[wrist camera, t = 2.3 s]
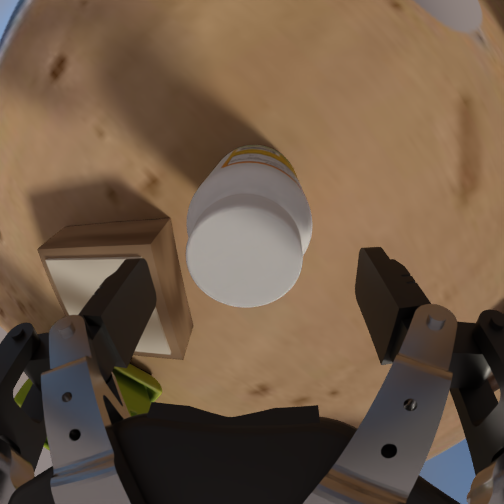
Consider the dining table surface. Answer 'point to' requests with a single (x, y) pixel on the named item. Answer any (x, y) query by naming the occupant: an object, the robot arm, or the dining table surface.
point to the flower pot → (131, 386)
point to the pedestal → (107, 262)
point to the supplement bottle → (248, 228)
